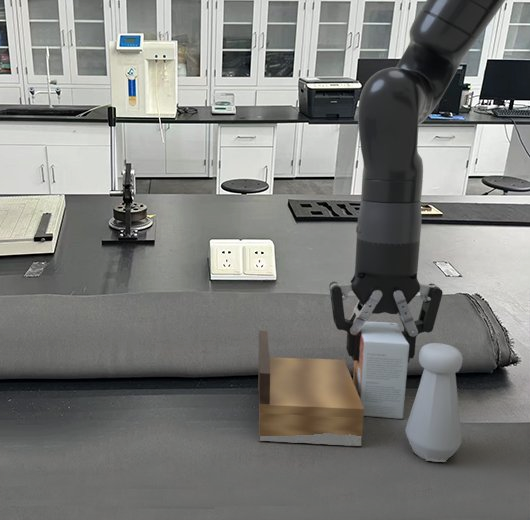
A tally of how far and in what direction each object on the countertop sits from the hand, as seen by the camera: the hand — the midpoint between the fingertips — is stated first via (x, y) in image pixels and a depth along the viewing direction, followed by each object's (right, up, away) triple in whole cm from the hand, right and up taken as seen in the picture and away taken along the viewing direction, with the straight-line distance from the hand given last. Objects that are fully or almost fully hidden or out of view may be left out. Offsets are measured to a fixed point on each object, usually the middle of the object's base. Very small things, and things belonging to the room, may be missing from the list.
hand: (379, 358), depth 71 cm
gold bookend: (-10, -7, -1) cm, 13 cm away
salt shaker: (+2, -9, -10) cm, 14 cm away
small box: (0, -7, +2) cm, 7 cm away
